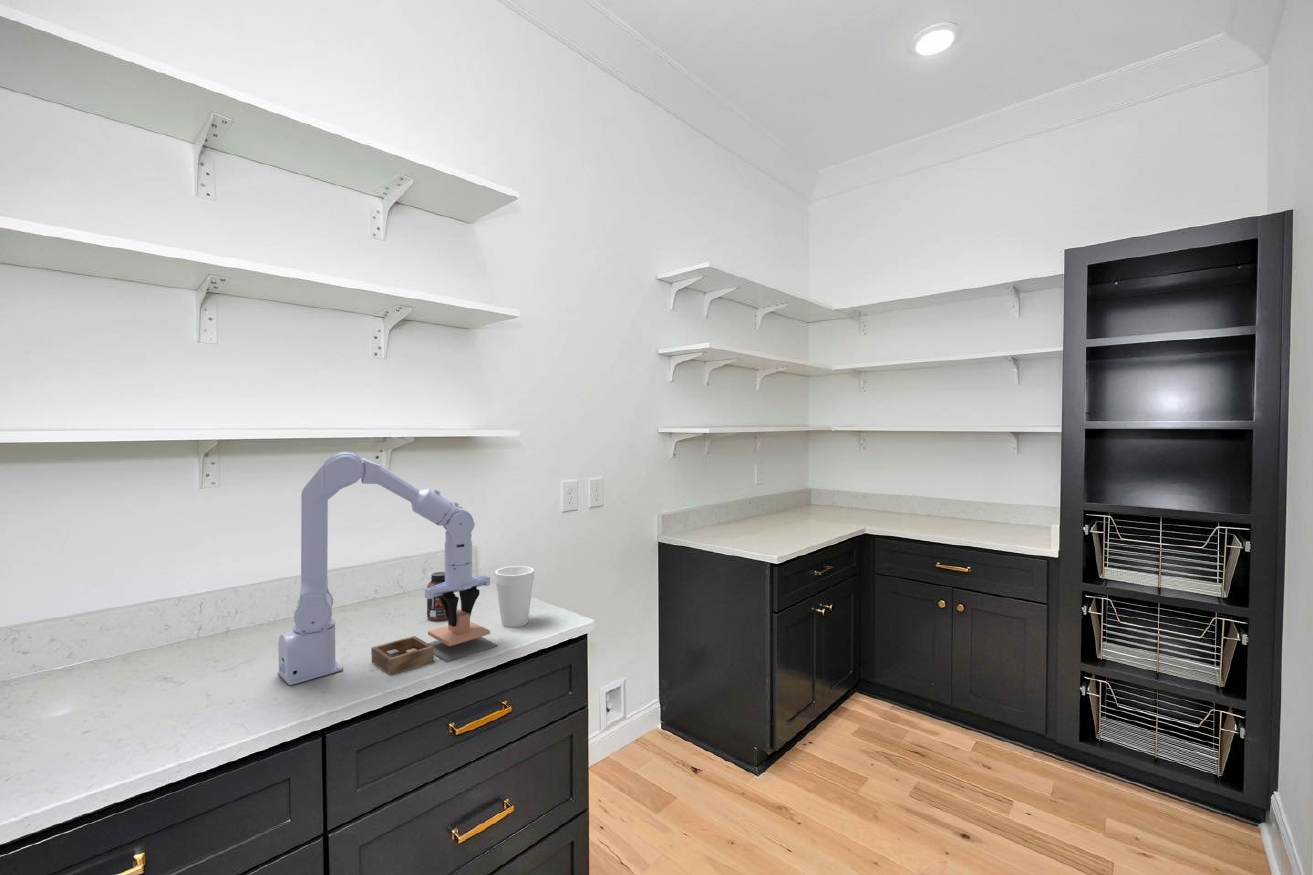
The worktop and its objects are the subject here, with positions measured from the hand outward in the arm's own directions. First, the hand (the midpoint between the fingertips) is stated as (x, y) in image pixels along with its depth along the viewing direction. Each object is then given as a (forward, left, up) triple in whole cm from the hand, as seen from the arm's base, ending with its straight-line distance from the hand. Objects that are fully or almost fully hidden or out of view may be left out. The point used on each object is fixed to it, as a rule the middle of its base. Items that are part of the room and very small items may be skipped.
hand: (458, 623), depth 128 cm
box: (-12, +1, -5) cm, 13 cm away
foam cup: (+17, +4, -5) cm, 18 cm away
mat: (0, 0, -5) cm, 5 cm away
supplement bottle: (+6, +21, -5) cm, 22 cm away
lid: (0, 0, -2) cm, 2 cm away
